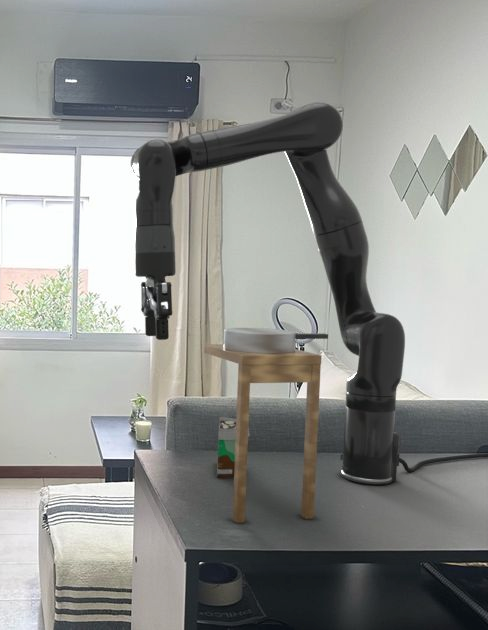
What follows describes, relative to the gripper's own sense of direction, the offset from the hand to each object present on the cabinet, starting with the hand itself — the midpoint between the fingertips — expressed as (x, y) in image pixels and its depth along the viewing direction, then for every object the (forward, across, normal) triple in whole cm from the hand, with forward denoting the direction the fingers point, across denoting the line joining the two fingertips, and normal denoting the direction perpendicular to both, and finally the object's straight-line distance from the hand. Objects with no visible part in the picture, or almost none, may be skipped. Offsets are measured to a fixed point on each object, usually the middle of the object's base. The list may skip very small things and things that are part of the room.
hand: (156, 337), depth 139 cm
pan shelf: (+29, -12, -17) cm, 36 cm away
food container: (+29, +8, -17) cm, 35 cm away
